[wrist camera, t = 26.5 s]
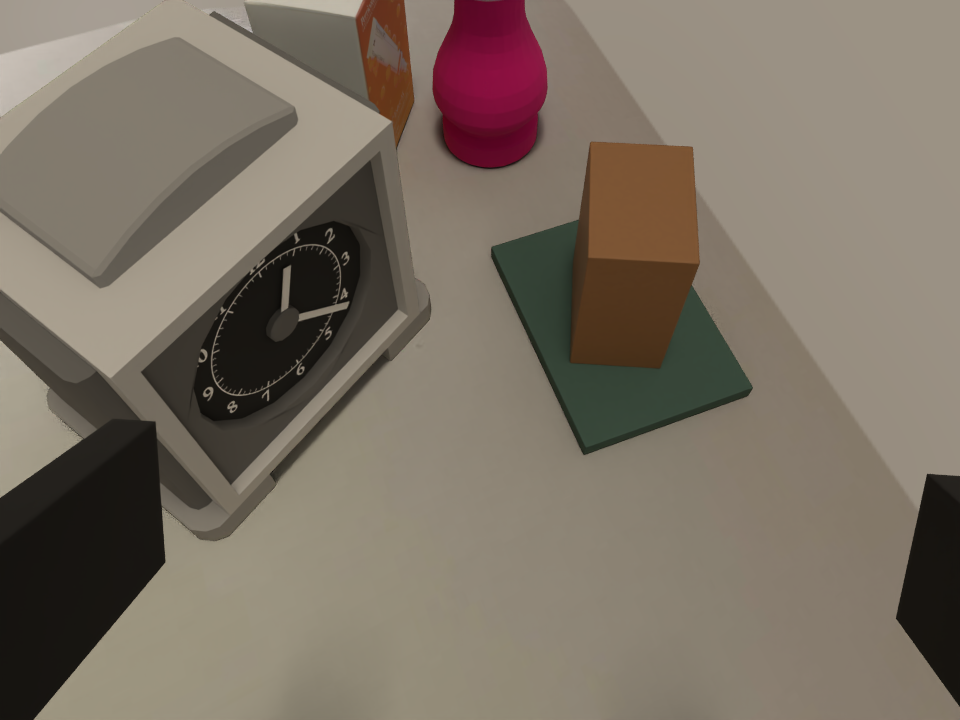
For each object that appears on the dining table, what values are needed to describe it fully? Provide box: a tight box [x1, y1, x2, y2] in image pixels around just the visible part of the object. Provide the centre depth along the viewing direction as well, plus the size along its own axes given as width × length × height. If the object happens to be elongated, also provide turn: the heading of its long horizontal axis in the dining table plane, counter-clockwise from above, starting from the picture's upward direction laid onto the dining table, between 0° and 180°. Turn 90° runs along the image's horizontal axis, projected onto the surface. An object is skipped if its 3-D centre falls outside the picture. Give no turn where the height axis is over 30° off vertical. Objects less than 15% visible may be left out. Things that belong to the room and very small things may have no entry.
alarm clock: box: [0, 0, 431, 541], centre depth 39 cm, size 18×13×18 cm
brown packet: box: [570, 142, 700, 368], centre depth 43 cm, size 5×7×10 cm
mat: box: [491, 220, 753, 454], centre depth 48 cm, size 14×10×1 cm
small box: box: [244, 0, 414, 147], centre depth 50 cm, size 8×6×13 cm
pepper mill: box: [433, 0, 548, 167], centre depth 47 cm, size 7×7×20 cm
